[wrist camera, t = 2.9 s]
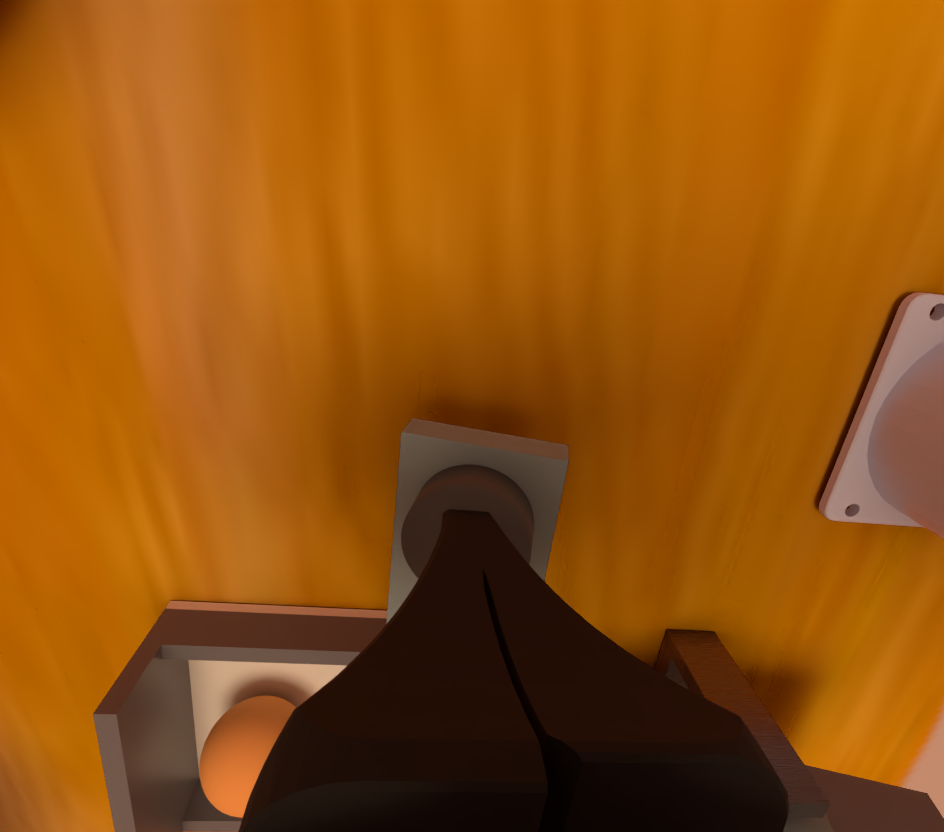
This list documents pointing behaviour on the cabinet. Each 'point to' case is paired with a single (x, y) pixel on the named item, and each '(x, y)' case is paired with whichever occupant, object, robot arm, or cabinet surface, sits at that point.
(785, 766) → the pivot stand
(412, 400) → the cabinet surface
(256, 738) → the ball
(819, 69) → the cabinet surface
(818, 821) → the lever trough
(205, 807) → the box
